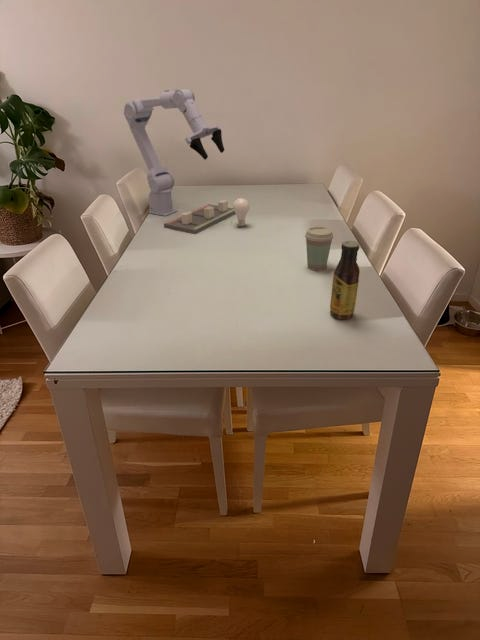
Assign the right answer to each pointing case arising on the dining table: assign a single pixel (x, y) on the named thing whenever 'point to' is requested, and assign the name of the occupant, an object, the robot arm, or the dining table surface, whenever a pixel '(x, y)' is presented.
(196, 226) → the breaker panel
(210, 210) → the breaker middle
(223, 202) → the breaker left
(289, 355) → the dining table surface
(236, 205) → the lightbulb
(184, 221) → the block
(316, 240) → the coffee cup
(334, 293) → the sauce bottle
